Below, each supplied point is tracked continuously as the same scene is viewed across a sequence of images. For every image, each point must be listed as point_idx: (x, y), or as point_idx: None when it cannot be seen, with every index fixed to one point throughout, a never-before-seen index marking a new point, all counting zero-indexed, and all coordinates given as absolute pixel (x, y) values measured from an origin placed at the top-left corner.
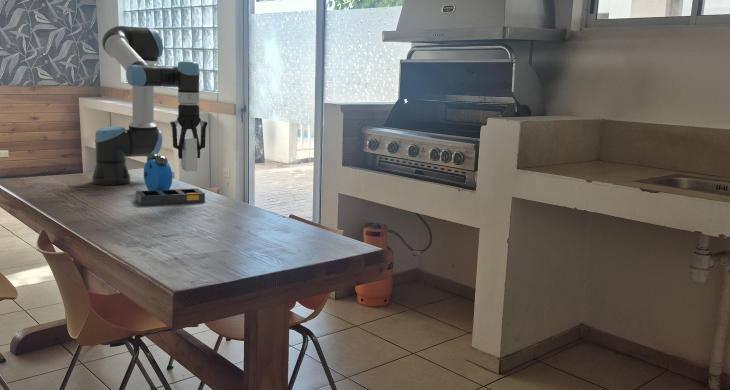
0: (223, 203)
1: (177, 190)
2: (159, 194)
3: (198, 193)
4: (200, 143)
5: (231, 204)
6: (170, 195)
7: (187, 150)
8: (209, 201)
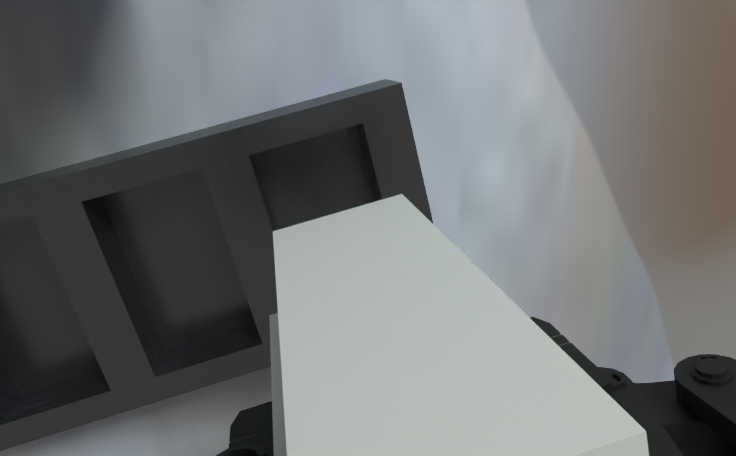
0: (548, 305)
1: (228, 189)
2: (100, 364)
3: None
4: (718, 414)
5: (591, 332)
6: (195, 388)
7: None
8: (464, 244)
